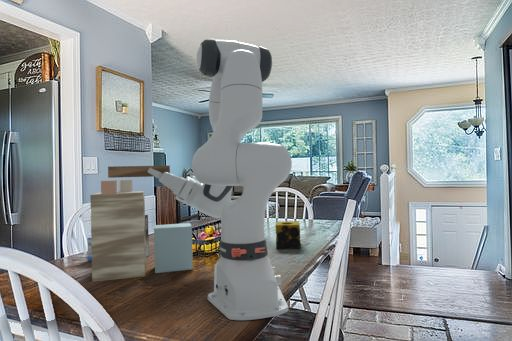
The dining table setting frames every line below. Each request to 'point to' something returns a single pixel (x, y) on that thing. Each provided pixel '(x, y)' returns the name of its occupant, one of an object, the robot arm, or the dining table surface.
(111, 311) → the dining table surface
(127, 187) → the cream block
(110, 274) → the grey wood block
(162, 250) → the step
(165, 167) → the rail
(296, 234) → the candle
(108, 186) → the terracotta block
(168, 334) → the dining table surface
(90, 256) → the medicine box
